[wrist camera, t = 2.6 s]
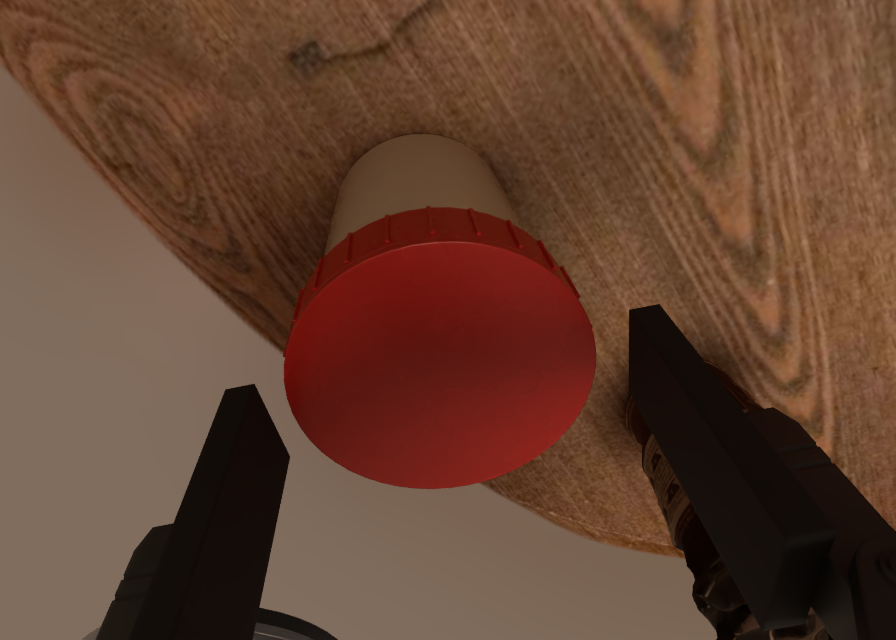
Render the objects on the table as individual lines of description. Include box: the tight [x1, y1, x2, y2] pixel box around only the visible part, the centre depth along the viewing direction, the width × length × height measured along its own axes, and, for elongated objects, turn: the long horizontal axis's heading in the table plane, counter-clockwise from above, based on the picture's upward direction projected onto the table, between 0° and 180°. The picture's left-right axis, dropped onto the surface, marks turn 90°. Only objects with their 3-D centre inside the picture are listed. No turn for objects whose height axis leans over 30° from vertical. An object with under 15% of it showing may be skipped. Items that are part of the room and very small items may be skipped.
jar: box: [323, 134, 525, 258], centre depth 20 cm, size 8×8×11 cm
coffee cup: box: [626, 361, 825, 640], centre depth 26 cm, size 9×8×13 cm
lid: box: [283, 206, 596, 489], centre depth 16 cm, size 8×8×2 cm
